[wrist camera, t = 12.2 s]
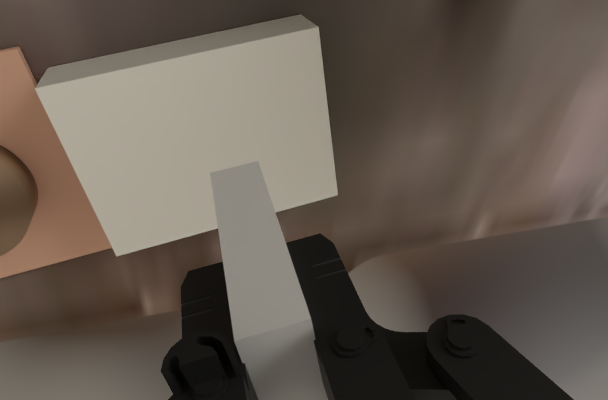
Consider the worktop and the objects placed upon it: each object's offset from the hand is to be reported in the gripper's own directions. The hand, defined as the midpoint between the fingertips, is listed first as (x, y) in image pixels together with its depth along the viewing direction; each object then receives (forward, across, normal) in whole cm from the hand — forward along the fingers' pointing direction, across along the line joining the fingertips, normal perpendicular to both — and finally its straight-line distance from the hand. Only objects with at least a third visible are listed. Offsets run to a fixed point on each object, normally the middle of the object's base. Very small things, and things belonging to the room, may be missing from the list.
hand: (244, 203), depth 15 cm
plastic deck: (+19, -2, -5) cm, 19 cm away
